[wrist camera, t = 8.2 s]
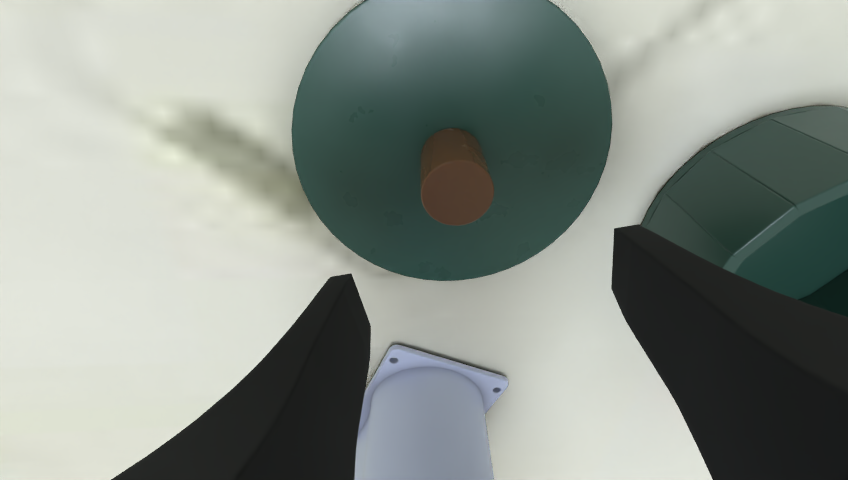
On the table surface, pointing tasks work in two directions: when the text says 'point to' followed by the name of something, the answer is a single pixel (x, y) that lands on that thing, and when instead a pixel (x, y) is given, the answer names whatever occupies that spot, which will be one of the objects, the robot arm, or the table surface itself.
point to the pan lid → (451, 132)
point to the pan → (769, 205)
